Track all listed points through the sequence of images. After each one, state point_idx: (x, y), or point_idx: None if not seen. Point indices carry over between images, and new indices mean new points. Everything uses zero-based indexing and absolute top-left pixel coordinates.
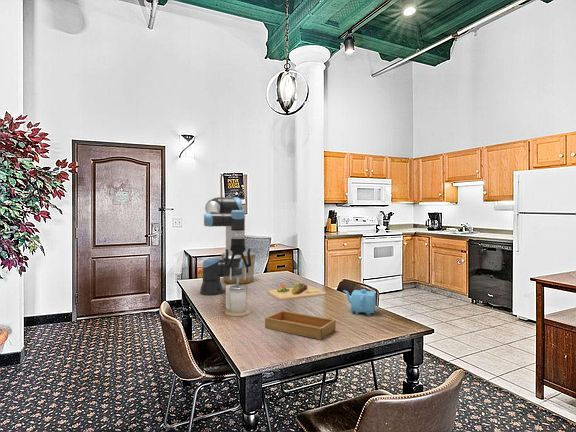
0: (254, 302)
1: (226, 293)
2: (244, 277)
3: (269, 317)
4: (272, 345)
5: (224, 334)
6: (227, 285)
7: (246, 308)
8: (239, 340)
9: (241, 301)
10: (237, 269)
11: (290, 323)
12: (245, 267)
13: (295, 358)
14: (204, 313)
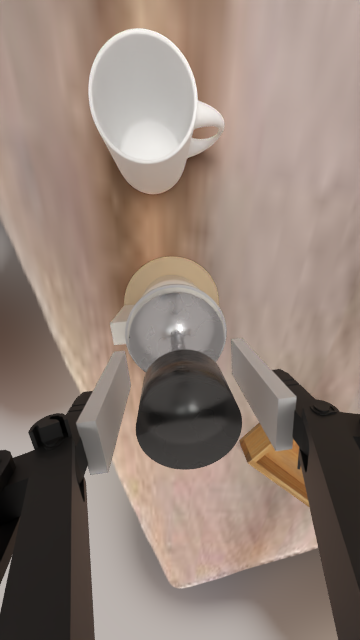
0: (253, 152)
1: (114, 332)
2: (235, 368)
3: (261, 456)
4: (234, 523)
5: (137, 473)
6: (98, 60)
7: (207, 273)
8: (172, 502)
9: None
10: (183, 465)
11: (300, 500)
12: (289, 430)
13: (259, 562)
14: (46, 298)
